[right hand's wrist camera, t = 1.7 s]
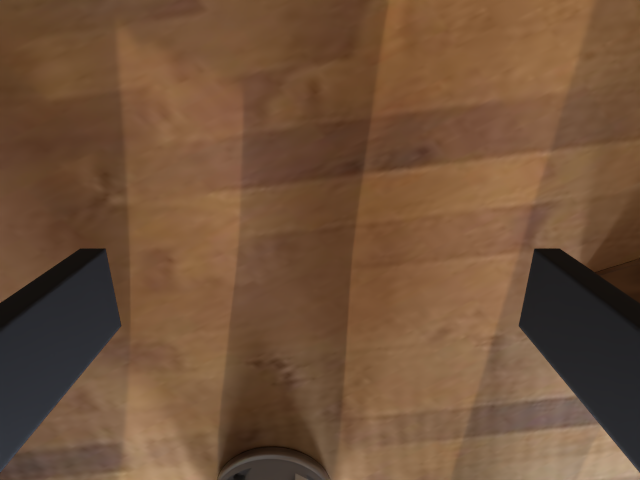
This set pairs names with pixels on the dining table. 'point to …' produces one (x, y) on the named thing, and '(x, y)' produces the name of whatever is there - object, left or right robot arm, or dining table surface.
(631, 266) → the chest
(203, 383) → the dining table surface
